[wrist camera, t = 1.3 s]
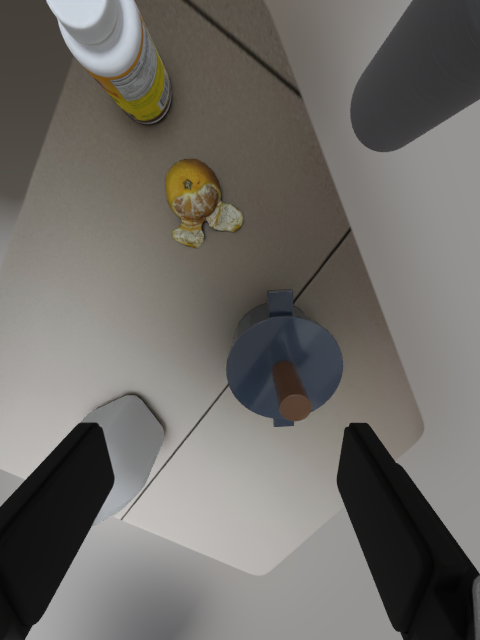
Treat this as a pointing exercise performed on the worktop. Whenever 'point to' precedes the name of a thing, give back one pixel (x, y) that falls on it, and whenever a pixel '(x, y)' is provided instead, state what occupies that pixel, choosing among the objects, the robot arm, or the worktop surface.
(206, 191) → the fruit
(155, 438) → the soap bottle
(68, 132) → the worktop surface
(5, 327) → the worktop surface
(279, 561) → the worktop surface
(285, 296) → the pot
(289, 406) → the lid
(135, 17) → the supplement bottle
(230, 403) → the worktop surface
